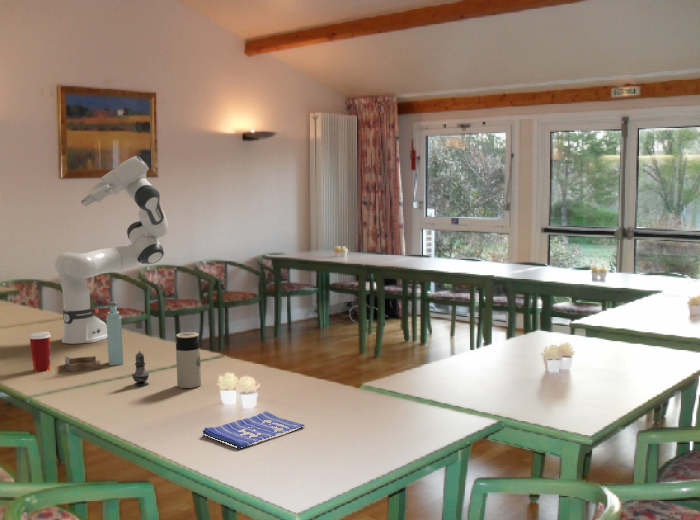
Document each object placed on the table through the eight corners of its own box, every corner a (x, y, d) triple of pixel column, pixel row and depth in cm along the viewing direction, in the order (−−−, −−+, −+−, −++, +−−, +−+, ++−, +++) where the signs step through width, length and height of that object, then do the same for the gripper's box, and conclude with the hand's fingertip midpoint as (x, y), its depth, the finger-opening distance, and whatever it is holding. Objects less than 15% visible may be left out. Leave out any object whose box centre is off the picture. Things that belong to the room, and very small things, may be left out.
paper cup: (57, 368, 283) (55, 332, 281) (41, 373, 276) (39, 336, 274) (42, 366, 286) (40, 330, 285) (25, 371, 279) (23, 334, 278)
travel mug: (172, 387, 255) (170, 335, 253) (186, 381, 262) (184, 331, 260) (192, 390, 252) (190, 337, 250) (205, 383, 259) (204, 332, 257)
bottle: (122, 361, 293) (119, 300, 290) (123, 364, 288) (120, 302, 286) (108, 362, 291) (105, 301, 289) (109, 365, 286) (106, 303, 284)
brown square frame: (99, 361, 294) (99, 353, 293) (100, 368, 282) (100, 360, 282) (65, 364, 289) (65, 356, 289) (65, 372, 278) (65, 364, 277)
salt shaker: (134, 387, 255) (132, 353, 254) (130, 383, 261) (129, 349, 259) (151, 385, 258) (150, 351, 257) (147, 381, 263) (146, 348, 262)
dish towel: (199, 437, 207) (199, 427, 206) (266, 417, 224) (265, 408, 223) (238, 452, 195) (238, 442, 195) (305, 430, 212) (305, 420, 212)
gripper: (120, 191, 295) (90, 212, 292) (113, 189, 313) (85, 208, 310) (110, 178, 293) (80, 199, 289) (103, 176, 311) (75, 196, 308)
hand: (82, 204), depth 300 cm, fingers open, 8 cm apart
